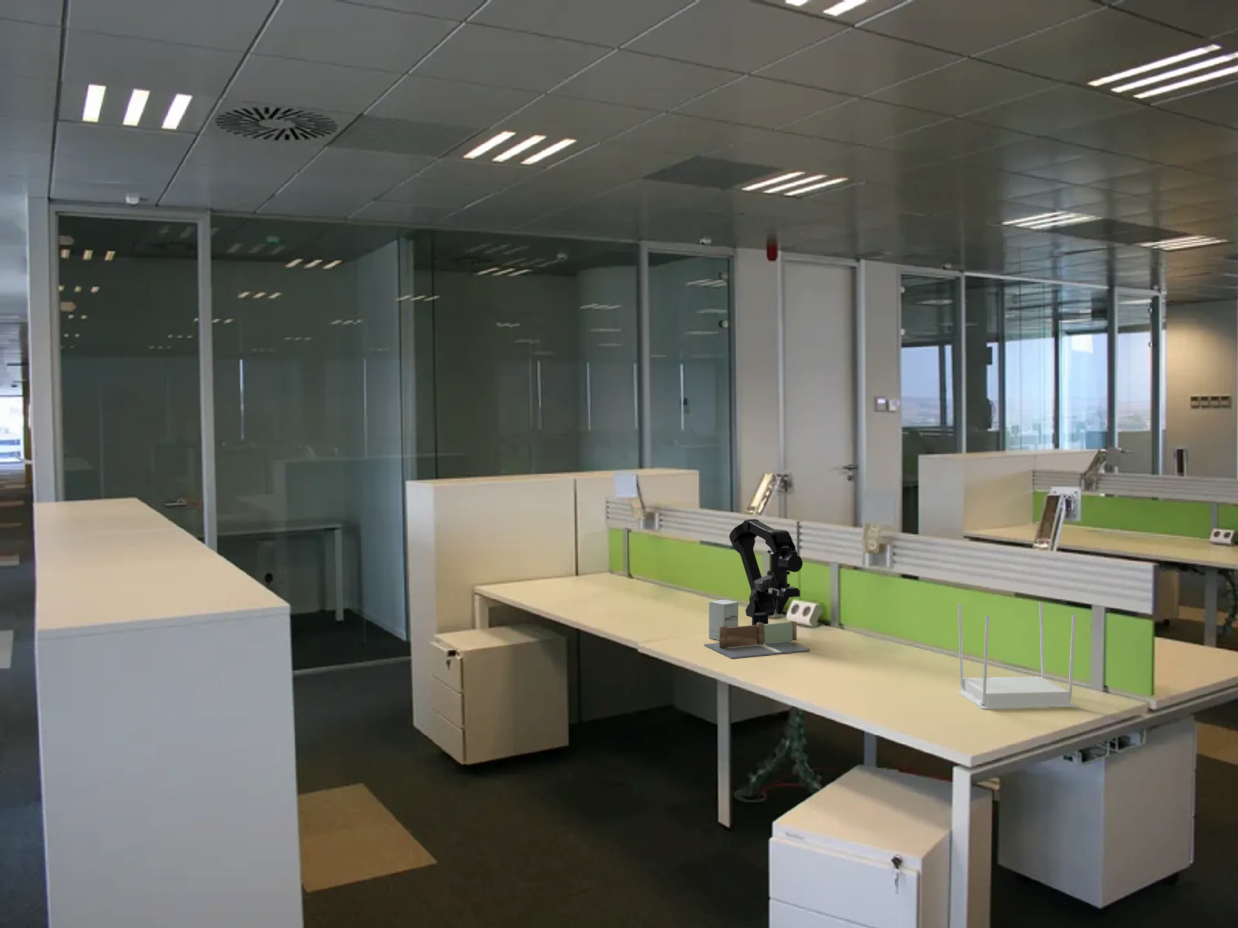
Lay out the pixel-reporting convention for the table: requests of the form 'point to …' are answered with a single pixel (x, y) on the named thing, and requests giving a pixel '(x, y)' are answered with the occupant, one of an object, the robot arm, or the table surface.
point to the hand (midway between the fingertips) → (778, 614)
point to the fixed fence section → (741, 635)
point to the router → (1015, 681)
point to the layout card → (758, 649)
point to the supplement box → (722, 616)
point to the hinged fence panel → (780, 632)
